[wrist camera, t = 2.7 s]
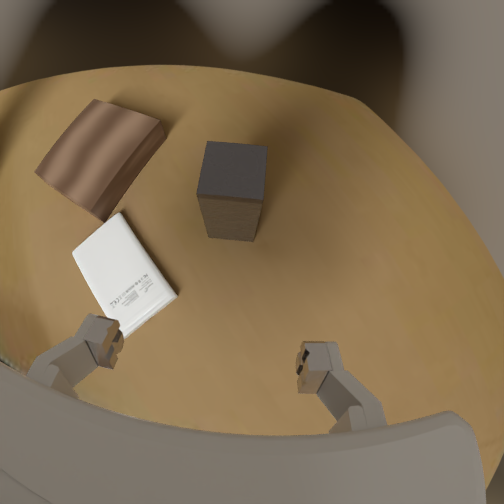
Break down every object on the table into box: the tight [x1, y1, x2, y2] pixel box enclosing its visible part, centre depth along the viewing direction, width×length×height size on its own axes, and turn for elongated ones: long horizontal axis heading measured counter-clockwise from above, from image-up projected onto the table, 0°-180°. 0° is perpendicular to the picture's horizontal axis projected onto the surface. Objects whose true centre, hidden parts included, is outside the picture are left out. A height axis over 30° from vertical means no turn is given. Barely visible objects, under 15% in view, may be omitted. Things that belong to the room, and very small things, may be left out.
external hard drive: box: [72, 212, 178, 339], centre depth 28 cm, size 2×8×12 cm
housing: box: [197, 141, 267, 242], centre depth 26 cm, size 5×5×11 cm
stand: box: [35, 99, 166, 223], centre depth 30 cm, size 14×14×4 cm
